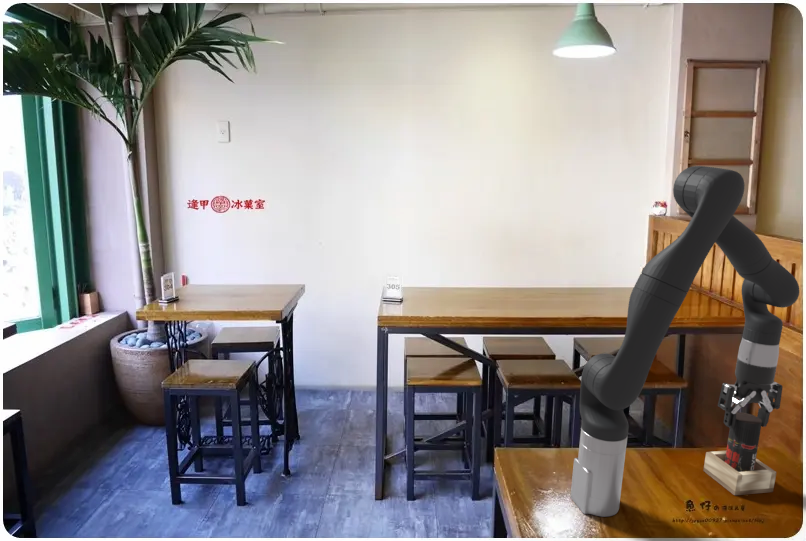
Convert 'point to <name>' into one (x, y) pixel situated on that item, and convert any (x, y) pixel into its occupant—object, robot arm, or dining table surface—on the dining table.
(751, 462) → the deodorant
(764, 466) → the white wooden box
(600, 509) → the robot arm
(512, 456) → the dining table surface
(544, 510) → the dining table surface
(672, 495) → the dining table surface
